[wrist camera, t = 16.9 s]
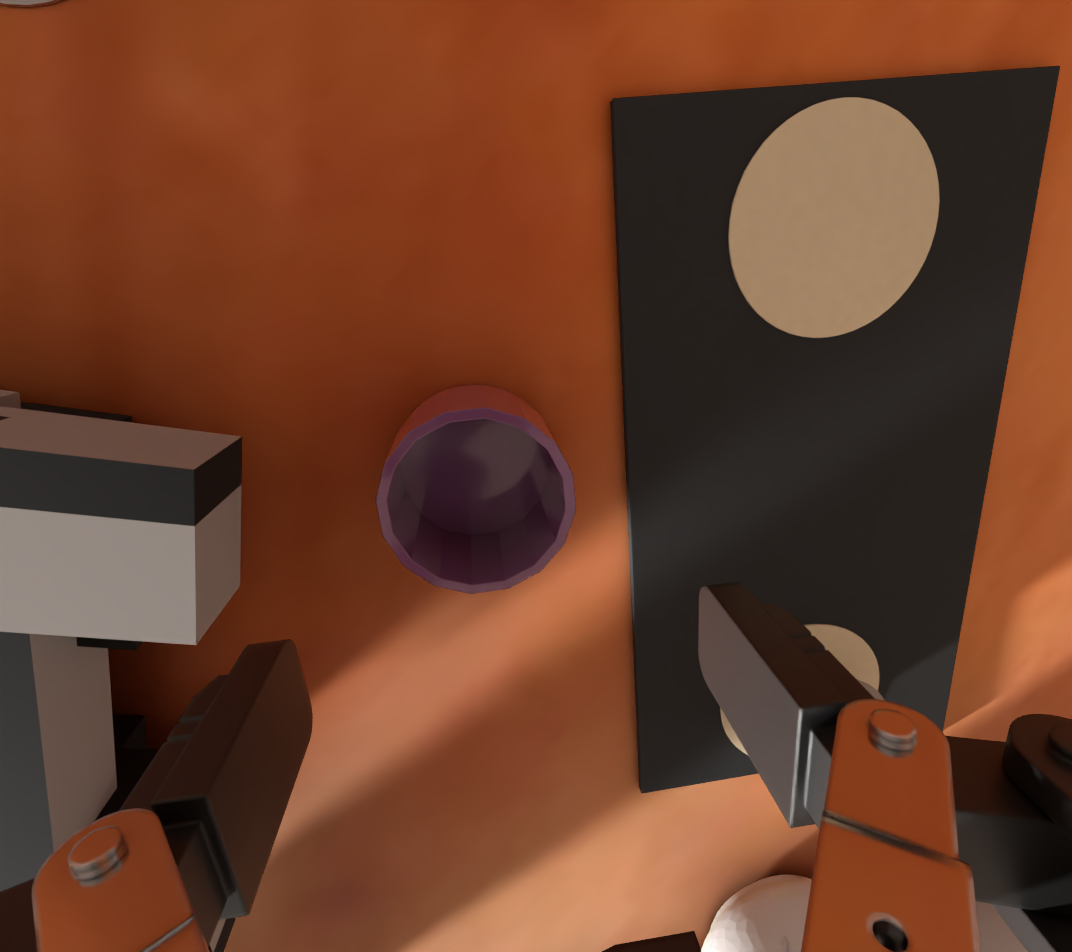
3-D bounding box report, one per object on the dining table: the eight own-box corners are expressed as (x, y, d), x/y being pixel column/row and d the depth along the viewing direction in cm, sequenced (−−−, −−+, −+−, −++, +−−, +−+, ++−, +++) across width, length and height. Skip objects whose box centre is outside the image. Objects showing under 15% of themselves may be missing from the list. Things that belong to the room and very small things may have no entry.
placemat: (639, 787, 29) (641, 795, 29) (610, 101, 19) (613, 96, 19) (935, 736, 30) (942, 743, 30) (1050, 69, 21) (1063, 64, 20)
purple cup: (408, 546, 23) (395, 605, 19) (380, 394, 21) (359, 421, 17) (560, 526, 24) (581, 578, 20) (548, 375, 22) (567, 397, 18)
